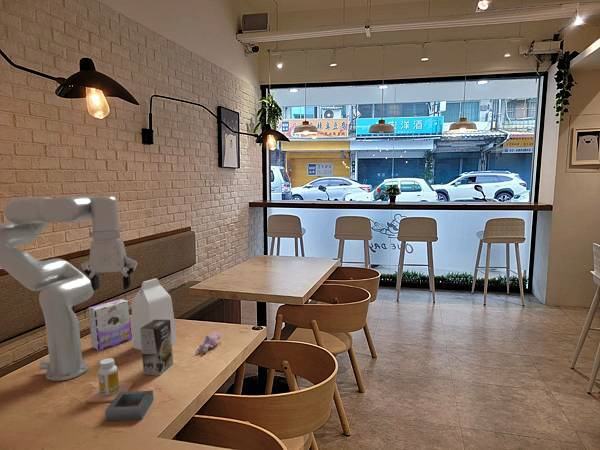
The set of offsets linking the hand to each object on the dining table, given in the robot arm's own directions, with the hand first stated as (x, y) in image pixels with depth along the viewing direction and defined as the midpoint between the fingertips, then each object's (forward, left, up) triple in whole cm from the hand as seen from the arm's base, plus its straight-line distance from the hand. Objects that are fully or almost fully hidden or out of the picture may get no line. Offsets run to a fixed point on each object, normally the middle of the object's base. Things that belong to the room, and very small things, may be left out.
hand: (111, 288), depth 131 cm
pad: (+1, -9, -30) cm, 32 cm away
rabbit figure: (+25, +22, -31) cm, 46 cm away
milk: (+3, +27, -31) cm, 41 cm away
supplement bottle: (+1, -9, -30) cm, 31 cm away
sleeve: (+11, -19, -30) cm, 37 cm away
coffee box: (+11, +6, -31) cm, 33 cm away
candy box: (-15, +30, -31) cm, 45 cm away
